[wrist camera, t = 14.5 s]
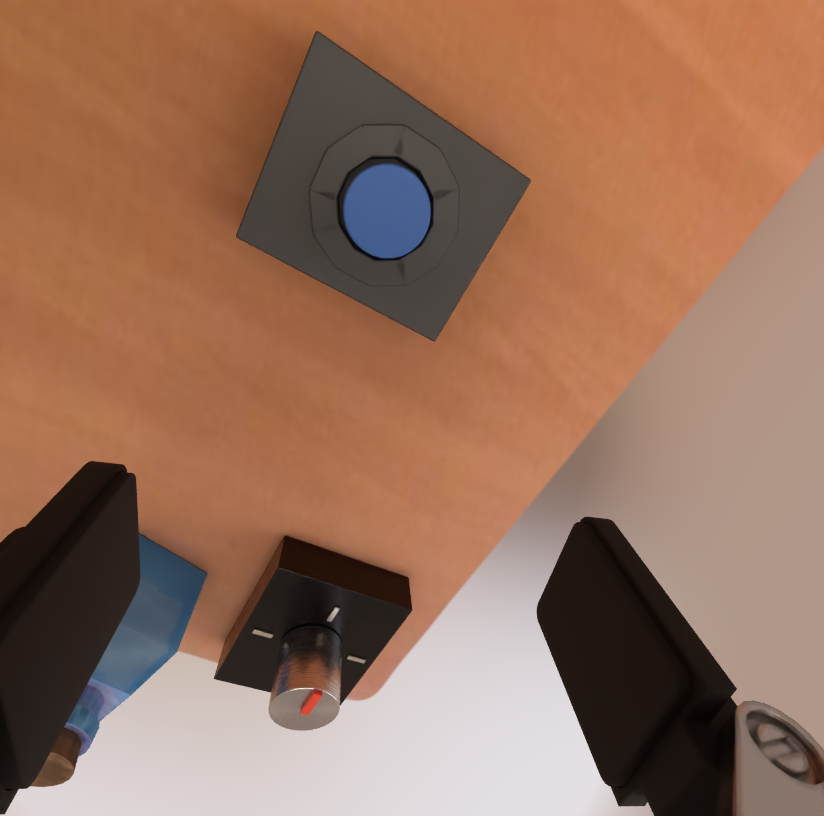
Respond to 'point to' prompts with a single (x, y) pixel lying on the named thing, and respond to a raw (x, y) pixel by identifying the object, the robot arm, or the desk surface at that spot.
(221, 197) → the desk surface
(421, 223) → the button
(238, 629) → the panel
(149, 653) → the perfume bottle
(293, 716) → the knob
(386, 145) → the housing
